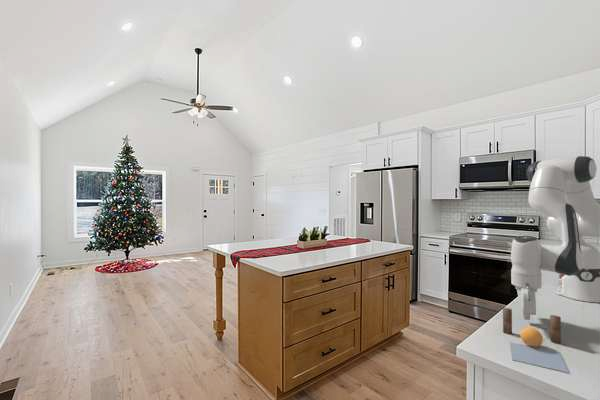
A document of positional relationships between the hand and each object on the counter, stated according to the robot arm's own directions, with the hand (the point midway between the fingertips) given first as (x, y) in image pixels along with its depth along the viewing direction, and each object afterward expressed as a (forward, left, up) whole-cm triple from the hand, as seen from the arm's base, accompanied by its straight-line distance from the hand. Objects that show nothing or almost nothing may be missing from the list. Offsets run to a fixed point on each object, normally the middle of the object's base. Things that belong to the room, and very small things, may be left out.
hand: (526, 318), depth 107 cm
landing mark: (+27, 0, -2) cm, 27 cm away
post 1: (+13, -6, -2) cm, 14 cm away
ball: (+20, 0, +1) cm, 20 cm away
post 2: (+13, +6, -2) cm, 15 cm away
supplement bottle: (-69, +23, -2) cm, 73 cm away
